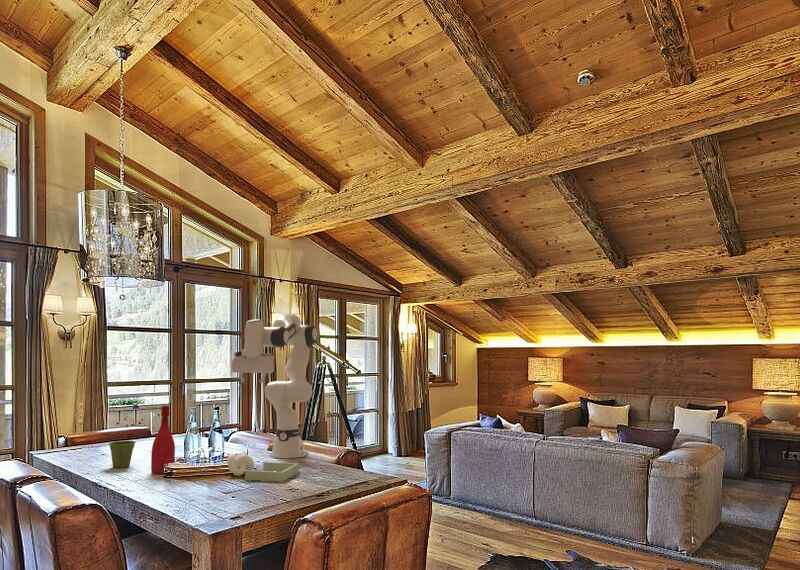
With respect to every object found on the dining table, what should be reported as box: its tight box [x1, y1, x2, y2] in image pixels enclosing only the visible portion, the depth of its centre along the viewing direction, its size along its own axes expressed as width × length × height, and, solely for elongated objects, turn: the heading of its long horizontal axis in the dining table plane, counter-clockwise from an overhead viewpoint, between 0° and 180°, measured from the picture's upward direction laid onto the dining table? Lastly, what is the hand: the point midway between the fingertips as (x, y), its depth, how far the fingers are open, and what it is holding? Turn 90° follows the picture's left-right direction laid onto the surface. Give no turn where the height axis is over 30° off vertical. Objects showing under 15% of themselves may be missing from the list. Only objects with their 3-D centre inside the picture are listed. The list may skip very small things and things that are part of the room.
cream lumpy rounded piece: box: [226, 452, 255, 477], centre depth 268 cm, size 11×12×9 cm
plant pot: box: [108, 440, 137, 469], centre depth 283 cm, size 12×12×11 cm
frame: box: [244, 461, 300, 483], centre depth 265 cm, size 20×17×4 cm
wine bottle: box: [150, 404, 176, 475], centre depth 272 cm, size 10×10×30 cm
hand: (252, 382), depth 282 cm, fingers open, 8 cm apart
